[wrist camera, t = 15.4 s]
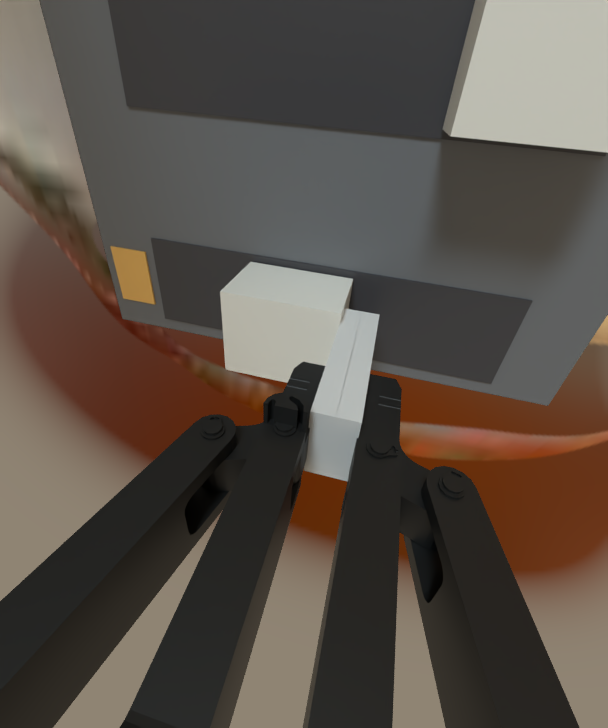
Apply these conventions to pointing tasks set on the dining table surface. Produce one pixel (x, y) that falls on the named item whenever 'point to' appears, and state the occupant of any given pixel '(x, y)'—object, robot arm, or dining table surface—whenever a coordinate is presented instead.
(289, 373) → the rear tab
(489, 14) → the block
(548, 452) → the dining table surface
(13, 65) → the dining table surface
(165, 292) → the switch panel
